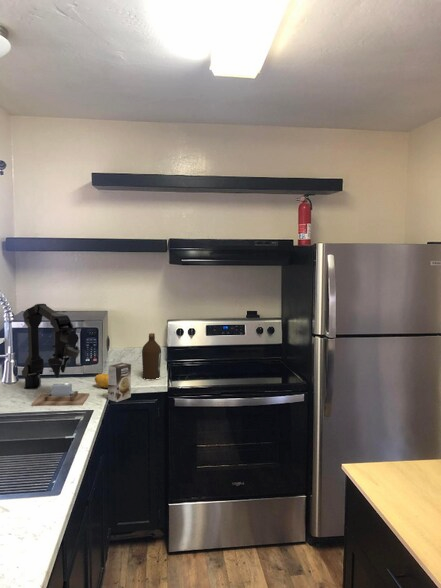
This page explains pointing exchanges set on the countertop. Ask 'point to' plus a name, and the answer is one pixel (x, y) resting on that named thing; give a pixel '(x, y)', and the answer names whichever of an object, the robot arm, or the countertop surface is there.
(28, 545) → the countertop surface
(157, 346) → the olive oil
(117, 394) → the coffee box
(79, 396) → the brown wooden board
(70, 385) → the block
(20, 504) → the countertop surface
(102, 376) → the potato
